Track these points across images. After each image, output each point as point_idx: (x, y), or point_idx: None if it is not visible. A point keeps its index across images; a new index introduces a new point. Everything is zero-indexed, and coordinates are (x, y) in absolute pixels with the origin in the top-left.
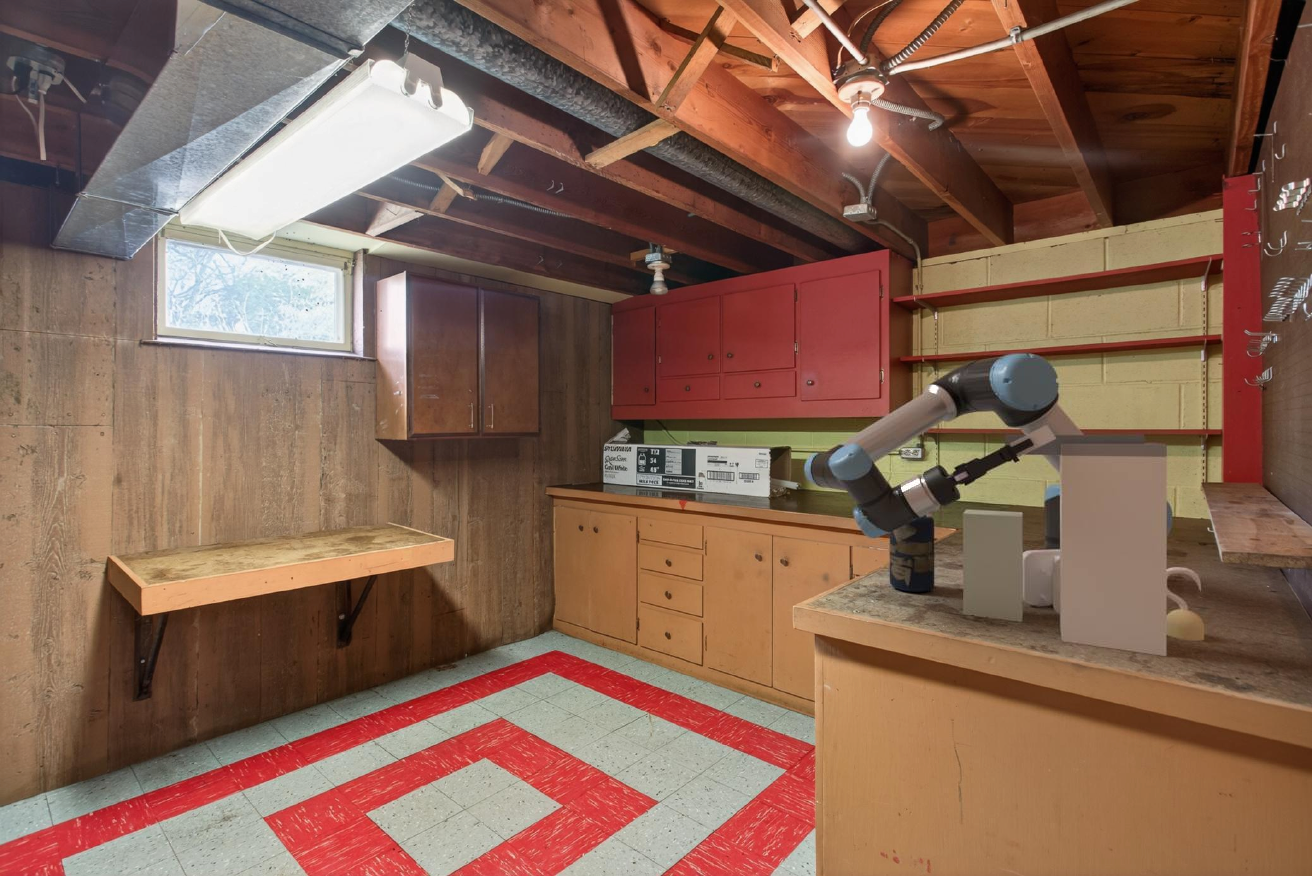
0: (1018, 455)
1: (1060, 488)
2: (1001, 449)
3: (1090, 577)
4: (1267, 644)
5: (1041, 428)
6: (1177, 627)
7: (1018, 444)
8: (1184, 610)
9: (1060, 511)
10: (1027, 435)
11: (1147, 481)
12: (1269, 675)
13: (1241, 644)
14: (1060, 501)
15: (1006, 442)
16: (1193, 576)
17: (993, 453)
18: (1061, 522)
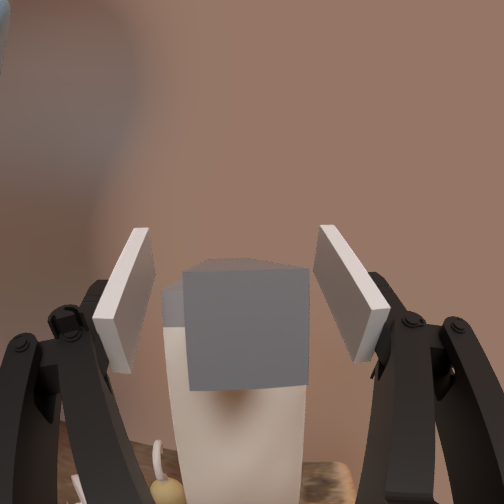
0: (371, 353)
1: (212, 423)
2: (469, 328)
3: None
4: (169, 461)
5: (339, 235)
6: (183, 499)
7: (398, 301)
8: (169, 481)
9: (216, 472)
10: (357, 262)
11: None
12: None
13: (179, 474)
14: (213, 452)
15: (307, 313)
16: (162, 444)
17: (484, 357)
18: (289, 480)
